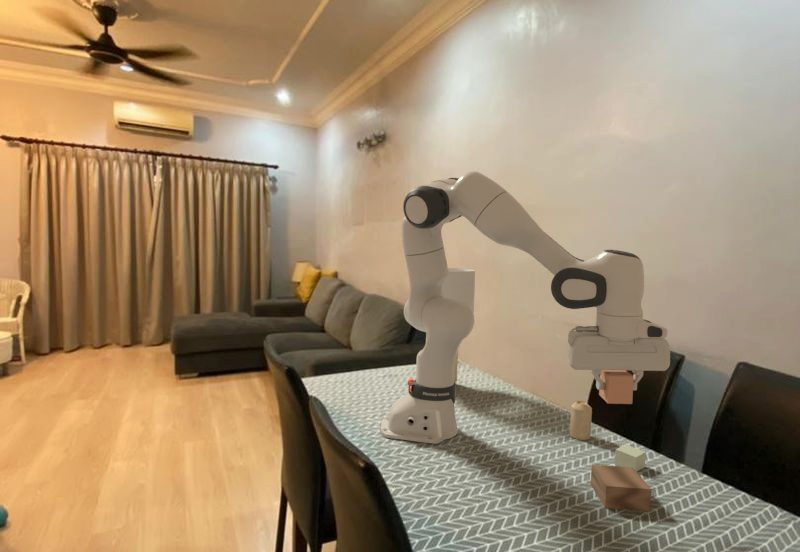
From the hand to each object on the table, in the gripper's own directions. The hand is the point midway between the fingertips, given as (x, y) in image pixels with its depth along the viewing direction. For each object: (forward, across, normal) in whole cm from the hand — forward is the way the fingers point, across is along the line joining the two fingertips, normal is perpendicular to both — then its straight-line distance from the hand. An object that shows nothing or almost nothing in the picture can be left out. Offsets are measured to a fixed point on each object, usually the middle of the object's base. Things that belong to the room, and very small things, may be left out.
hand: (616, 389), depth 96 cm
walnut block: (+24, +1, -1) cm, 24 cm away
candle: (+25, +2, +30) cm, 39 cm away
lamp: (+24, -37, +70) cm, 82 cm away
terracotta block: (+2, 0, 0) cm, 2 cm away
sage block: (+25, +10, +14) cm, 30 cm away
